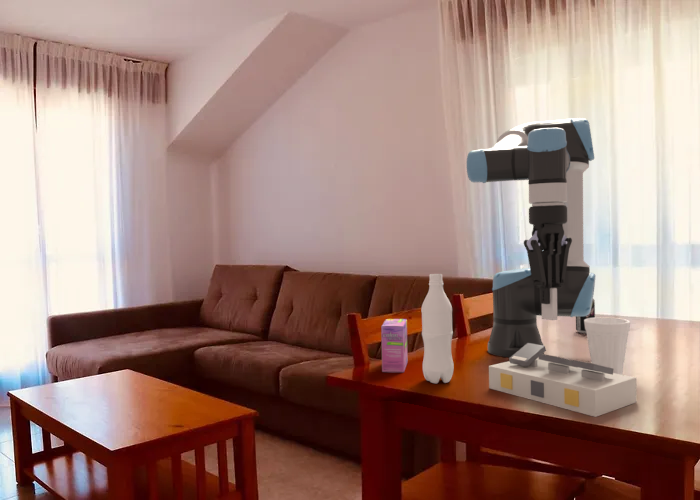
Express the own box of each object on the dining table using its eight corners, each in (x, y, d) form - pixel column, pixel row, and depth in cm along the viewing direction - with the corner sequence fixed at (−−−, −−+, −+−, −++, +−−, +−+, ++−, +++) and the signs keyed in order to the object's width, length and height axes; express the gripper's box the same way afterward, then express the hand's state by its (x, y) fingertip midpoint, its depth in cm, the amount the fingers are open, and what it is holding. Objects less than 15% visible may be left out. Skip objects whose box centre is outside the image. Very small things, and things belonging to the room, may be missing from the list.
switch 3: (591, 370, 125) (592, 364, 125) (612, 374, 121) (613, 368, 121) (571, 365, 121) (573, 359, 121) (592, 370, 117) (593, 363, 117)
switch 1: (529, 347, 138) (527, 342, 138) (546, 350, 134) (544, 345, 134) (510, 363, 134) (508, 358, 134) (527, 366, 131) (525, 361, 130)
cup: (627, 383, 135) (627, 325, 134) (580, 378, 140) (579, 322, 139) (633, 373, 143) (633, 318, 143) (588, 369, 148) (588, 316, 148)
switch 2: (558, 363, 131) (559, 357, 131) (577, 367, 128) (578, 361, 128) (538, 359, 127) (539, 353, 128) (557, 363, 124) (558, 356, 124)
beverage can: (596, 331, 196) (596, 294, 196) (593, 334, 191) (592, 296, 191) (578, 330, 199) (577, 293, 199) (574, 333, 195) (573, 295, 194)
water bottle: (453, 385, 138) (450, 275, 137) (421, 384, 139) (419, 276, 138) (454, 377, 145) (452, 272, 144) (424, 376, 146) (421, 273, 145)
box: (404, 372, 151) (403, 325, 150) (381, 372, 152) (380, 325, 151) (408, 363, 161) (407, 318, 161) (386, 362, 162) (385, 318, 162)
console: (530, 377, 142) (529, 350, 142) (636, 402, 121) (636, 370, 121) (488, 388, 134) (487, 359, 134) (594, 417, 113) (594, 383, 113)
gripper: (552, 205, 131) (553, 313, 132) (512, 206, 124) (514, 320, 125) (582, 203, 125) (584, 317, 126) (542, 204, 118) (544, 325, 119)
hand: (549, 319), depth 125 cm, fingers closed
